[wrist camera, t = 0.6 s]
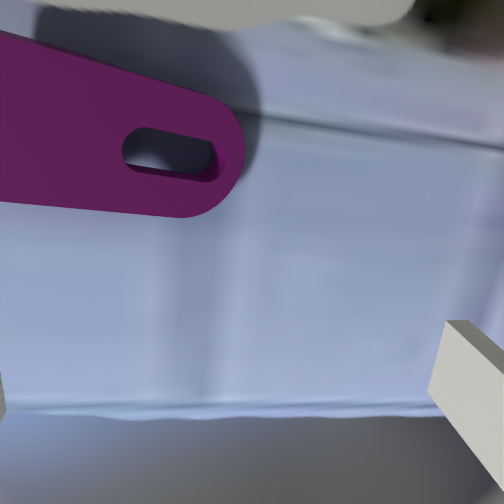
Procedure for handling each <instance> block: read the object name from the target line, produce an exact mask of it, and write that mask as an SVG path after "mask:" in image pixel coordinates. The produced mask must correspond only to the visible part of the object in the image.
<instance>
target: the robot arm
mask: <svg viewBox="0 0 504 504" xmlns="http://www.w3.org/2000/svg"><path fill="white" fill-rule="evenodd" d="M427 393H428V394H429V395H430V397H431V398H432V399H433V400H434V402H435V403H436V404H437V406H438V407H439V408H440V410H441V411H442V412H443V413H444V415H445V416H446V417H447V419H448V420H449V421H450V422H451V424H452V425H453V426H454V427H455V429H456V430H457V432H458V433H459V434H460V435H461V437H462V438H463V439H464V441H465V442H466V443H467V444H468V446H469V447H470V448H471V450H472V451H473V452H474V454H475V455H476V456H477V457H478V459H479V460H480V461H481V463H482V464H483V465H484V466H485V468H486V469H487V470H488V472H489V473H490V474H491V475H492V477H493V478H494V479H495V481H496V482H497V483H498V485H499V486H500V487H501V489H502V490H503V491H504V351H503V350H502V349H501V348H500V347H499V346H497V345H496V344H495V343H494V342H493V341H492V340H490V339H489V338H488V337H487V336H486V335H485V334H483V333H482V332H481V331H480V330H479V329H478V328H477V327H475V326H474V325H473V324H472V323H471V322H470V321H468V320H446V322H445V326H444V330H443V333H442V337H441V341H440V345H439V349H438V353H437V356H436V360H435V364H434V368H433V372H432V376H431V380H430V383H429V387H428V391H427ZM5 412H6V404H5V398H4V392H3V385H2V379H1V373H0V422H1V420H2V418H3V416H4V414H5Z"/></svg>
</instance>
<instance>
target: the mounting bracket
mask: <svg viewBox="0 0 504 504" xmlns="http://www.w3.org/2000/svg"><path fill="white" fill-rule="evenodd" d="M142 127H148V128H152V129H157V130H161V131H166V132H170V133H175V134H179V135H184V136H189V137H193V138H198V139H202V140H207V141H210V142H211V144H212V146H213V152H214V154H213V159H212V162H211V164H210V165H209V167H208V168H207V169H206V170H205V171H203V172H201V173H199V174H187V173H180V172H174V171H168V170H162V169H156V168H150V167H144V166H138V165H132V164H127V163H125V162H124V160H123V158H122V145H123V142H124V140H125V138H126V137H127V135H128V134H129V133H130V132H132V131H133V130H135V129H137V128H142ZM243 161H244V138H243V133H242V130H241V127H240V125H239V122H238V120H237V119H236V117H235V115H234V114H233V113H232V111H231V110H230V109H229V108H228V107H227V106H226V105H225V104H223V103H222V102H220V101H219V100H217V99H215V98H213V97H211V96H208V95H205V94H203V93H200V92H197V91H194V90H191V89H188V88H184V87H181V86H178V85H174V84H171V83H168V82H164V81H161V80H157V79H154V78H151V77H147V76H144V75H141V74H137V73H134V72H131V71H127V70H124V69H121V68H119V67H116V66H114V65H111V64H108V63H106V62H103V61H100V60H97V59H94V58H91V57H88V56H85V55H82V54H78V53H75V52H72V51H69V50H66V49H63V48H59V47H56V46H53V45H50V44H47V43H43V42H40V41H37V40H33V39H30V38H26V37H23V36H20V35H16V34H13V33H9V32H5V31H2V30H0V201H1V202H12V203H22V204H33V205H44V206H55V207H65V208H76V209H87V210H98V211H109V212H119V213H130V214H141V215H152V216H162V217H173V218H188V217H194V216H197V215H200V214H203V213H205V212H207V211H209V210H211V209H212V208H214V207H215V206H216V205H218V204H219V203H220V202H221V201H222V200H223V199H224V198H225V197H226V196H227V195H228V194H229V193H230V191H231V190H232V188H233V187H234V185H235V183H236V181H237V179H238V177H239V175H240V172H241V169H242V166H243Z"/></svg>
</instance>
